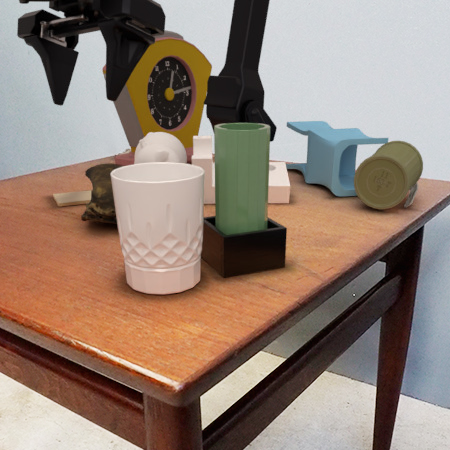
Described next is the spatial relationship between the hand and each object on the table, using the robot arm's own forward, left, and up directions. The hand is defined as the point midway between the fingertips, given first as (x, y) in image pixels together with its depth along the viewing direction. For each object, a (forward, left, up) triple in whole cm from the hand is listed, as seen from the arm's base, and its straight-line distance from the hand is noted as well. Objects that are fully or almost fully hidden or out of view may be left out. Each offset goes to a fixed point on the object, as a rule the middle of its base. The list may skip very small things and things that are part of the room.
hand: (83, 102), depth 62 cm
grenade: (-34, +12, -10) cm, 37 cm away
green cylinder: (-10, +21, -14) cm, 27 cm away
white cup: (-2, +22, -14) cm, 26 cm away
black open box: (-10, +21, -14) cm, 27 cm away
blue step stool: (-36, +4, -10) cm, 38 cm away
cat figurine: (-11, -12, -14) cm, 22 cm away
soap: (-16, -41, -15) cm, 46 cm away
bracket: (-21, -2, -14) cm, 25 cm away
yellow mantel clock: (-19, -30, -14) cm, 38 cm away
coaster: (+1, -10, -14) cm, 17 cm away
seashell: (-3, +1, -14) cm, 14 cm away
